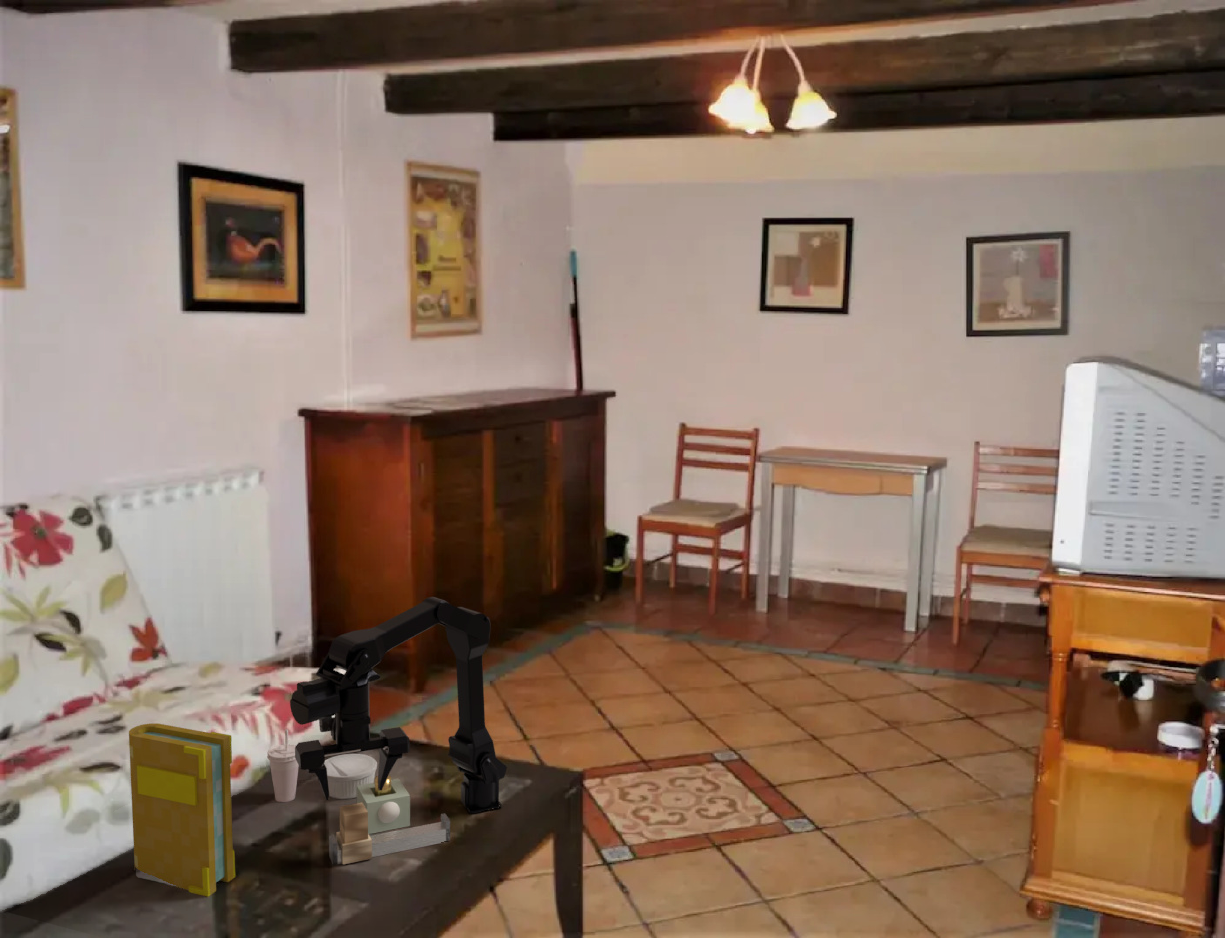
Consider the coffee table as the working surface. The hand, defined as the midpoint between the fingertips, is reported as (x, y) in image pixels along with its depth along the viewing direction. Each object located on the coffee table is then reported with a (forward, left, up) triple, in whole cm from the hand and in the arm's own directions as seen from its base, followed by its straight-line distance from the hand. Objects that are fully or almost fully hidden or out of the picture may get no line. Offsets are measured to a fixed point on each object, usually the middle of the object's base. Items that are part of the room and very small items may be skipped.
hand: (353, 794), depth 186 cm
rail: (-6, 0, -12) cm, 13 cm away
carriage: (0, 0, -12) cm, 12 cm away
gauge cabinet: (-8, -11, -12) cm, 18 cm away
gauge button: (-8, -11, -7) cm, 15 cm away
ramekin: (-5, -27, -12) cm, 30 cm away
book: (+28, -5, -12) cm, 31 cm away
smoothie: (+7, -28, -12) cm, 31 cm away
